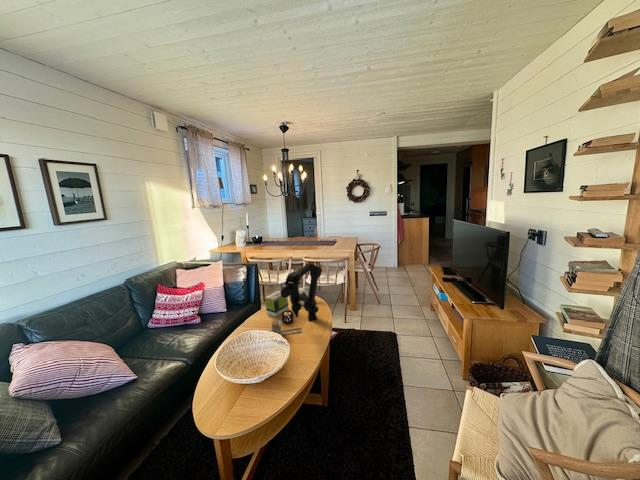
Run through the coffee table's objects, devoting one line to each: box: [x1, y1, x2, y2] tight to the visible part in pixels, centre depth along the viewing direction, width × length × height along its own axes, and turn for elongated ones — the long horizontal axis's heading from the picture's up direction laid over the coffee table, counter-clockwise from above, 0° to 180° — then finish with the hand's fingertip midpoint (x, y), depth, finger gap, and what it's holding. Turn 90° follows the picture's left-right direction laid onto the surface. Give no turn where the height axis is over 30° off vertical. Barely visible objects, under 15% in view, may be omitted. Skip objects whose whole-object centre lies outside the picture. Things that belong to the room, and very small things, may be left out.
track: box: [281, 327, 303, 336], centre depth 173 cm, size 8×21×1 cm, turn 100°
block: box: [271, 320, 279, 332], centre depth 170 cm, size 4×4×5 cm
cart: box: [268, 320, 282, 334], centre depth 171 cm, size 6×8×7 cm
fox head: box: [288, 285, 310, 306], centre depth 215 cm, size 13×17×20 cm
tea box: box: [264, 290, 290, 318], centre depth 201 cm, size 15×10×15 cm
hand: (296, 313), depth 173 cm, fingers open, 9 cm apart
